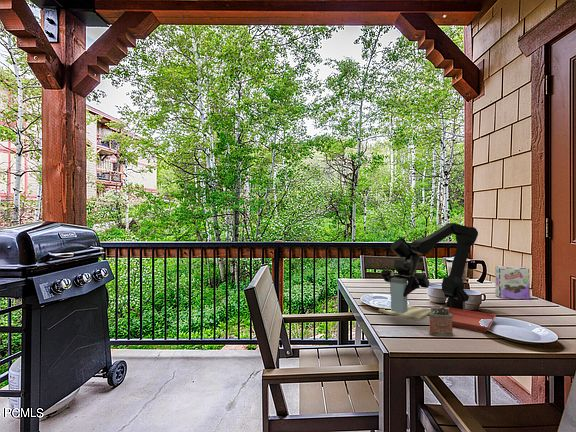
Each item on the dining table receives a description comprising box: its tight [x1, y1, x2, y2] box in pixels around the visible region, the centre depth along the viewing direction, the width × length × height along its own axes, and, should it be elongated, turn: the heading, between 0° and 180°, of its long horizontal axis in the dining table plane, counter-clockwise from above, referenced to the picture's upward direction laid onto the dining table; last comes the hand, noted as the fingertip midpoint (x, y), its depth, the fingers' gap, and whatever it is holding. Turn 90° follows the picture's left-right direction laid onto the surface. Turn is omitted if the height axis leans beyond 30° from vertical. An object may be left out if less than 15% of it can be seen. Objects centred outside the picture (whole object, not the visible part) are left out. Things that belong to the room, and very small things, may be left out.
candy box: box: [494, 265, 531, 301], centre depth 162 cm, size 14×6×16 cm, turn 73°
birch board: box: [378, 304, 434, 321], centre depth 138 cm, size 18×16×1 cm
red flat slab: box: [445, 306, 497, 333], centre depth 123 cm, size 18×18×3 cm
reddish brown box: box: [428, 305, 454, 337], centre depth 111 cm, size 8×3×10 cm, turn 84°
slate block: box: [390, 277, 409, 313], centre depth 123 cm, size 5×4×13 cm
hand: (397, 295), depth 122 cm, fingers closed on slate block, 5 cm apart
